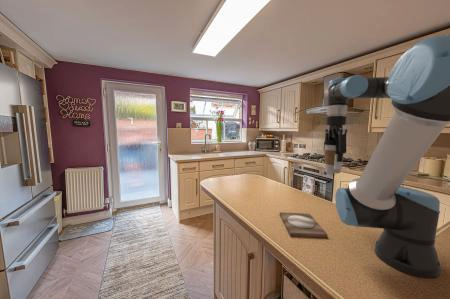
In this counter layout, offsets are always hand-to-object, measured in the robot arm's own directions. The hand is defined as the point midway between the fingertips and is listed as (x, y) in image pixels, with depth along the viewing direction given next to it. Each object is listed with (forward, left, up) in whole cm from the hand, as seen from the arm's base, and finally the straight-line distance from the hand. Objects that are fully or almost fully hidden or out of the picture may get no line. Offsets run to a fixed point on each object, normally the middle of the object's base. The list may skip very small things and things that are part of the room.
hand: (332, 167), depth 86 cm
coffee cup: (0, 0, -2) cm, 2 cm away
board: (-7, +15, -25) cm, 30 cm away
